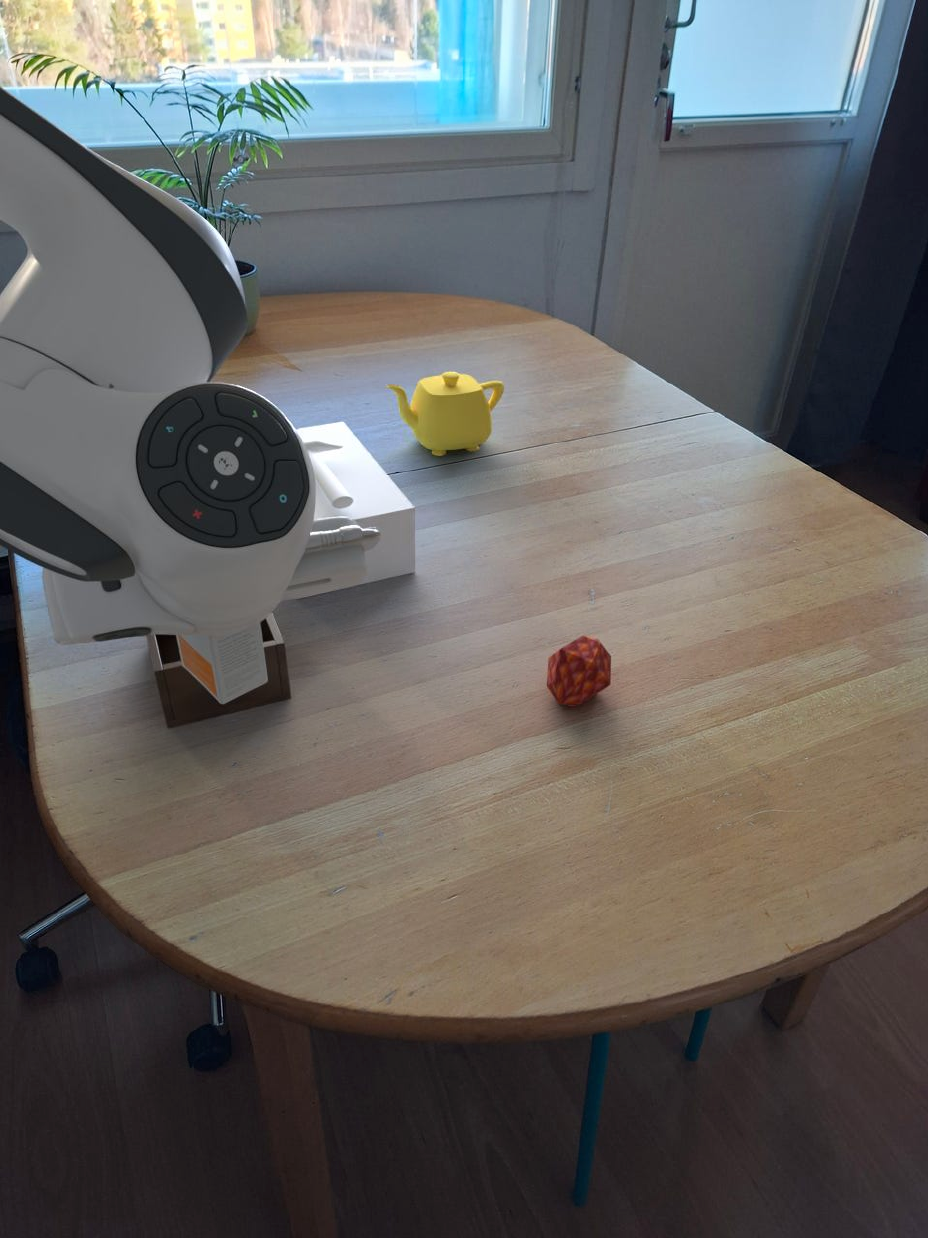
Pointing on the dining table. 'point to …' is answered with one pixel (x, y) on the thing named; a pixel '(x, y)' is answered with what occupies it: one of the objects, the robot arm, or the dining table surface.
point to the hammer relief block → (361, 498)
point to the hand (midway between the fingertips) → (211, 603)
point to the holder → (193, 700)
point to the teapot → (449, 411)
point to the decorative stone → (579, 671)
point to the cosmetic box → (225, 662)
